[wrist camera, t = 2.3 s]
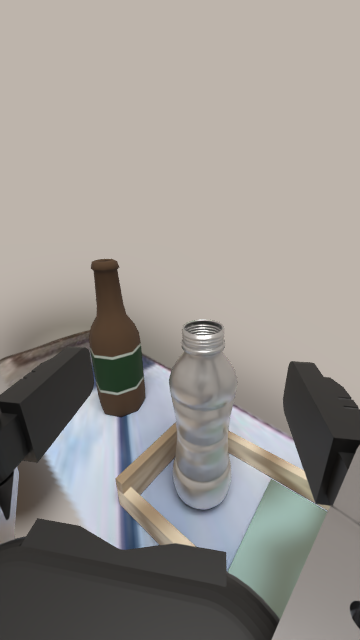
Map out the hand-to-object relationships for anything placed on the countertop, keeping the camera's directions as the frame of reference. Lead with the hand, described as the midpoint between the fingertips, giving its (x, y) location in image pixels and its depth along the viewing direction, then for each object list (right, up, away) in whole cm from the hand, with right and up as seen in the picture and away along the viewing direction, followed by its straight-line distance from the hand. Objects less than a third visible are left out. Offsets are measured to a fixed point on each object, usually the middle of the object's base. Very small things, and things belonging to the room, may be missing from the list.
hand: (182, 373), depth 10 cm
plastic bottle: (+2, -17, +19) cm, 25 cm away
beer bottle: (-10, -12, +33) cm, 36 cm away
